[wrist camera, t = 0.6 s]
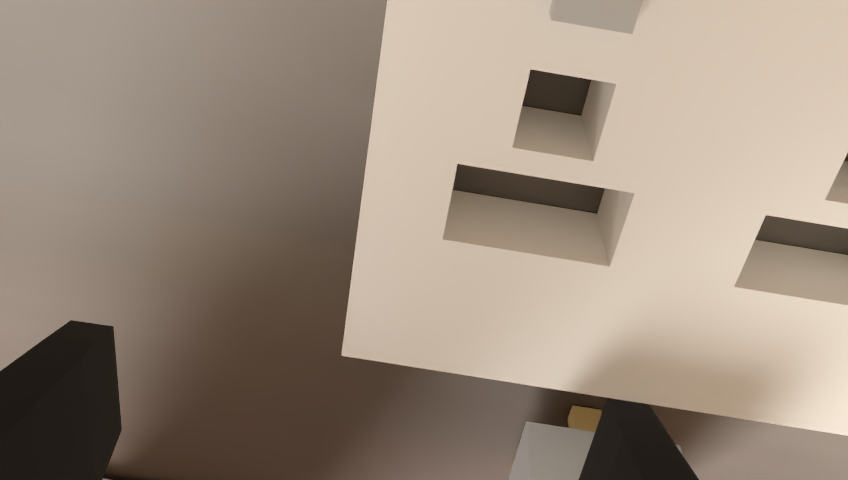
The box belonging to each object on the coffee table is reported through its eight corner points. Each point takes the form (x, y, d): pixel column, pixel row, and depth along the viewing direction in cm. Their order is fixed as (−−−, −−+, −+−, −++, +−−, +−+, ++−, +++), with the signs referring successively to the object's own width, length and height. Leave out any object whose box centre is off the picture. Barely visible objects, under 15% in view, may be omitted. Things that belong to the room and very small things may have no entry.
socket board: (862, 380, 24) (909, 458, 21) (354, 298, 23) (338, 368, 20) (1111, -39, 17) (1221, 1, 15) (415, -163, 17) (404, -145, 14)
